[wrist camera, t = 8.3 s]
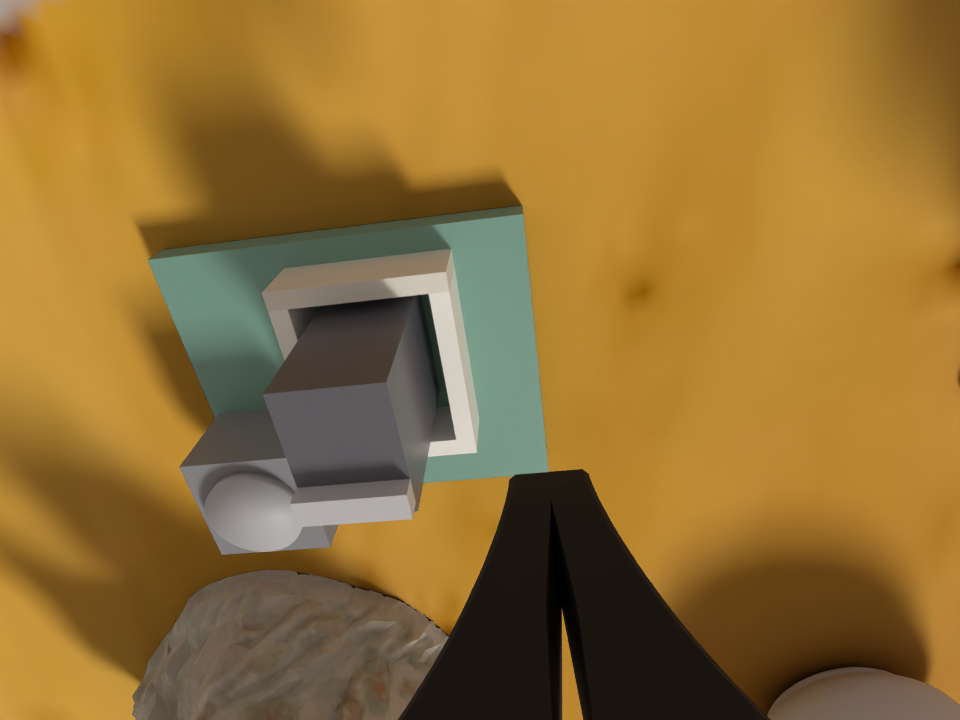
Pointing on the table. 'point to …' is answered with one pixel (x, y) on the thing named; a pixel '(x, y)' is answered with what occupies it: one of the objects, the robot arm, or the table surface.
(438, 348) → the board
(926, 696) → the teacup
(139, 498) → the table surface
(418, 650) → the grey jagged lump
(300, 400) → the plug
